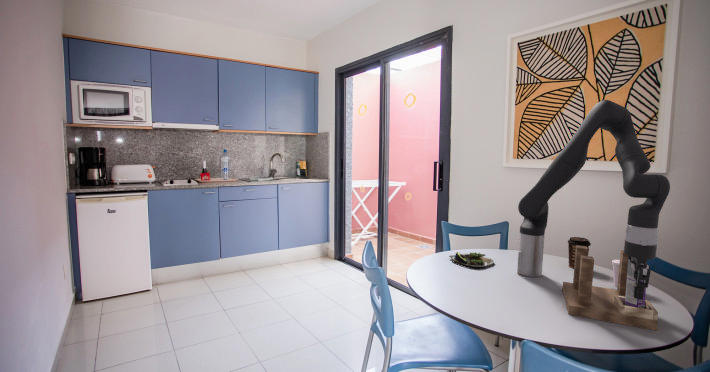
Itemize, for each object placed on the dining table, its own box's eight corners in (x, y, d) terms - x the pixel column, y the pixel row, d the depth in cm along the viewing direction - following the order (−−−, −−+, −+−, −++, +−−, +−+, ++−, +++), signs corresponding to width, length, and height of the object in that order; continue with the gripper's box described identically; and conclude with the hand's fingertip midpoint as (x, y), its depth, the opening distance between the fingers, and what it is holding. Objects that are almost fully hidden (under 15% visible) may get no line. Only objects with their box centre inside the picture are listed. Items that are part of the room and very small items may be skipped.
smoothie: (634, 290, 130) (638, 254, 128) (615, 289, 131) (618, 252, 129) (624, 284, 136) (628, 249, 134) (606, 282, 137) (609, 248, 136)
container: (639, 308, 109) (643, 261, 107) (646, 315, 104) (651, 266, 103) (621, 306, 110) (625, 259, 109) (627, 312, 106) (631, 264, 104)
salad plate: (470, 253, 175) (470, 244, 175) (503, 263, 161) (503, 253, 160) (444, 260, 164) (444, 251, 164) (476, 271, 150) (477, 261, 149)
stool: (568, 314, 111) (572, 259, 109) (562, 289, 131) (565, 242, 129) (656, 330, 101) (662, 270, 99) (635, 300, 121) (640, 250, 119)
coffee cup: (588, 266, 156) (591, 238, 155) (589, 272, 149) (591, 242, 148) (566, 263, 161) (568, 235, 159) (565, 268, 154) (567, 239, 152)
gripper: (619, 233, 113) (615, 284, 115) (631, 245, 100) (626, 301, 102) (649, 236, 109) (644, 288, 111) (665, 248, 97) (659, 306, 98)
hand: (635, 294), depth 107 cm, fingers open, 5 cm apart
